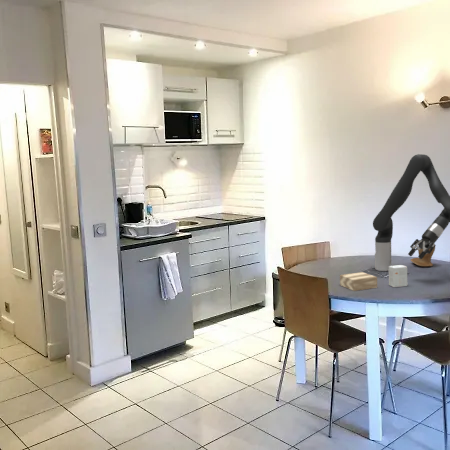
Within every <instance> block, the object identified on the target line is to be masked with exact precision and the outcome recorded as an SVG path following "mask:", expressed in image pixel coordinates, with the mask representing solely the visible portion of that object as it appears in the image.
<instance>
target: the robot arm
mask: <svg viewBox="0 0 450 450" xmlns="http://www.w3.org/2000/svg"><path fill="white" fill-rule="evenodd" d="M419 173H422V174H423V175H424V177H425V178H426V180H427V183H428V187H429V190H430V193H431V194H432V196H433V198H434V199H435V200H436V202H437V203H438V204H441V205H442V206H443V209H442V210H441V212H440V213H439V215H438V216H437V217H435V219H434V220H433V222H432V223H431V224H429V226H428V227H427V229H426V230H425V231H424V232H423V233H422V235H421V239H420V240H419V239H418V238H417V239H415V240H414V241H413V242H412V244H411V245H410V248H411V249H410V250H409V252H408V254H407V255H408V256H409V257H412V256H414V254H415V253H416V251H418V250H420V249H423V251H422V252H421V253H420V255H419V254H418V257H417V258H420V259H422V258H423V257H424V256H425V254H427V253H429V254H430V253H431V252H432V250H433V249H434V247H435V248H436V246H437V245H436V244H435V243H436V242H437V240H439V238H440V237H441V235H442V234H443V232H444V231H445V230H446V229H447V227H448V226H449V224H450V194H449V192H448V190H447V189H446V188H445V185H443V183H442V180H440V177H439V175H438V173H437V171H436V169H435V166H434V164H433V161H432V159H431V157H430V156H429V155H427V154H419V153H418V154H415V155H413V156H412V157H411V158H410V160H409V162H408V164H407V166H406V168H405V170H404V172H403V174H402V175H401V177H400V179H399V180H398V181H397V184H396V185H395V186H394V188H393V189H392V191H391V193H390V195H389V197H388V198H387V200H386V201H385V203H384V205H383V206H382V208H381V210H380V211H379V212H378V213H377V214H376V216H375V217H374V219H373V221H372V227H373V229H374V230H375V231H377V235H376V236H375V237H374V238H375V239H374V243H375V244H374V245H375V247H374V248H375V249H374V250H375V252H374V269H375V270H376V271H379V272H389V266H392V239H393V228H394V227H393V226H394V223H393V222H394V221H393V219H392V217H393V215H394V214H395V213H396V212H397V211H398V210H399V209H400V208H401V207H402V206H403V205H404V204H405V202H406V201H407V199H408V198H409V197H410V194H412V189H413V185H414V181H415V180H416V178H417V177H418V175H419ZM418 246H419V247H418ZM429 249H430V251H429Z"/></svg>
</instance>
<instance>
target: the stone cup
mask: <svg viewBox="0 0 450 450" xmlns="http://www.w3.org/2000/svg"><path fill="white" fill-rule="evenodd" d="M418 247H419V246H418ZM422 251H423V249H420V250H417V253H418V256H419V255H420V253H421V252H422ZM429 251H430V249H429ZM435 251H436V246H435V247H434V249H433V250H432V252H431V253H430V254H429V253H427V254H425V256H424V257H423V258H422V259H420V258H419V257H414V258H411V259H410V262H411V263H413V264H415V265H417V266H418V267H432V266H434V265H433V263H432V261H431V260H432V257H433V255H434V253H435Z"/></svg>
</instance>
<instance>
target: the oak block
mask: <svg viewBox="0 0 450 450" xmlns="http://www.w3.org/2000/svg"><path fill="white" fill-rule="evenodd" d="M339 285H340V286H341V287H344V288H346V289H348V290H350V291H353V292H357V291H363V290H369V289H370V290H371V289H377V288H378V276H375V275H372V274H369V273H366V272H363V271H359V272H353V273H345V274H340V275H339Z"/></svg>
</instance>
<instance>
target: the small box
mask: <svg viewBox="0 0 450 450" xmlns="http://www.w3.org/2000/svg"><path fill="white" fill-rule="evenodd" d="M388 285H389V286H391V287H393V288H399V287H407V286H408V267H407V266H406V265H403V264H397V265H391V266H389V271H388Z"/></svg>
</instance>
